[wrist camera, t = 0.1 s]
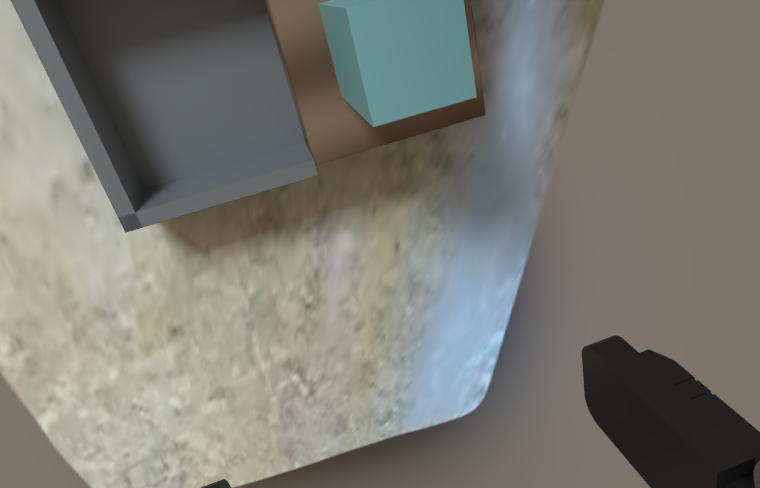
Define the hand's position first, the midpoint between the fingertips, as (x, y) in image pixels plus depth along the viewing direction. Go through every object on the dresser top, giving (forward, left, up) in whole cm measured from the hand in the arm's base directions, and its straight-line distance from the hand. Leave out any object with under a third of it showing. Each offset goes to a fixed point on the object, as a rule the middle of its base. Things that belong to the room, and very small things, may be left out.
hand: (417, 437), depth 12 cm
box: (-5, -5, -29) cm, 30 cm away
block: (-5, +6, -23) cm, 25 cm away
